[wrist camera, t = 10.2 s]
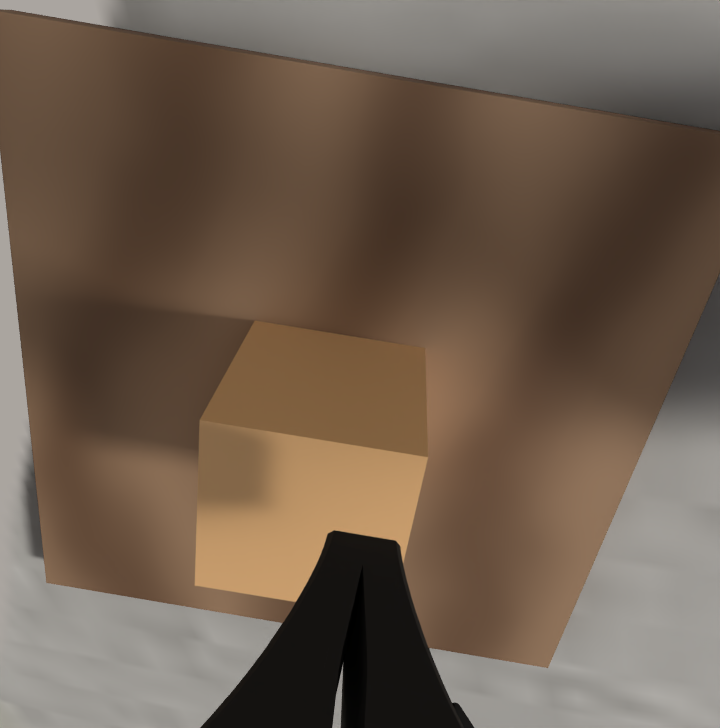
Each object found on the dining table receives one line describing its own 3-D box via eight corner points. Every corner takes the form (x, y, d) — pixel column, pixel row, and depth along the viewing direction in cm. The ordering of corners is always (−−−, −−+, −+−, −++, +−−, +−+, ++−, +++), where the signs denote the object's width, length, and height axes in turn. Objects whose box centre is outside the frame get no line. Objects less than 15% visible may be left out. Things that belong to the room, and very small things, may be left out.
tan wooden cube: (425, 348, 19) (428, 457, 15) (396, 484, 22) (390, 617, 17) (254, 320, 19) (199, 420, 15) (244, 459, 22) (194, 585, 17)
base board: (753, 136, 17) (775, 143, 16) (542, 642, 26) (547, 667, 25) (11, 10, 17) (-15, 8, 16) (61, 560, 26) (46, 582, 25)
